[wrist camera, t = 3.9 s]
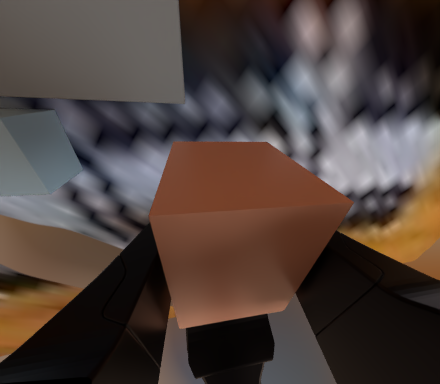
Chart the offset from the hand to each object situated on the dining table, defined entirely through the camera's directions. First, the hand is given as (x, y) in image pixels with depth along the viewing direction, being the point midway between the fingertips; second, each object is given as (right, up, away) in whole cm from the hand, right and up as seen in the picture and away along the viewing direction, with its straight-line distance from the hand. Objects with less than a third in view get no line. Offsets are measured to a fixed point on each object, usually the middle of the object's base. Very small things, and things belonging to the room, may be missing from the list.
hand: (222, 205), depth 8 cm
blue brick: (-18, +6, +7) cm, 20 cm away
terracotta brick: (0, +1, +1) cm, 1 cm away
